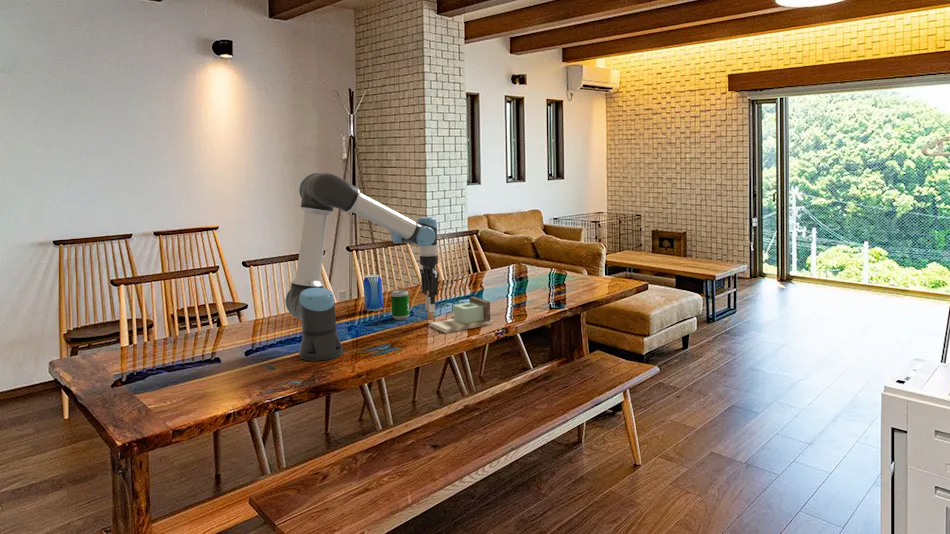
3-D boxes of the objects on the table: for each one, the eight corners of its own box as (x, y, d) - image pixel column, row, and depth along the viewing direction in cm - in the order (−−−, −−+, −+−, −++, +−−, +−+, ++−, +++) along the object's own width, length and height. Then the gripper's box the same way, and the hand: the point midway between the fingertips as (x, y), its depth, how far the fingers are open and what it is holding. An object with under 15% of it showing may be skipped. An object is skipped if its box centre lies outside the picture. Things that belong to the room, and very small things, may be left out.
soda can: (406, 320, 272) (405, 292, 270) (389, 320, 274) (388, 292, 272) (411, 316, 279) (410, 289, 277) (395, 315, 281) (394, 289, 279)
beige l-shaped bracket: (445, 333, 250) (444, 309, 248) (430, 326, 261) (429, 303, 259) (492, 324, 261) (491, 301, 259) (476, 317, 272) (475, 296, 270)
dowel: (429, 320, 264) (428, 292, 262) (426, 319, 266) (425, 291, 264) (434, 319, 265) (434, 291, 264) (432, 318, 268) (431, 290, 266)
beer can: (364, 308, 297) (361, 275, 294) (381, 307, 299) (379, 273, 297) (366, 312, 289) (364, 278, 286) (384, 310, 291) (382, 276, 289)
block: (464, 323, 256) (464, 309, 255) (453, 319, 264) (453, 305, 263) (483, 320, 261) (483, 305, 260) (472, 316, 268) (472, 302, 267)
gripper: (445, 256, 257) (446, 313, 261) (428, 252, 270) (430, 306, 274) (428, 257, 253) (430, 315, 257) (412, 253, 266) (414, 308, 270)
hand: (430, 310), depth 265 cm, fingers closed on dowel, 2 cm apart
